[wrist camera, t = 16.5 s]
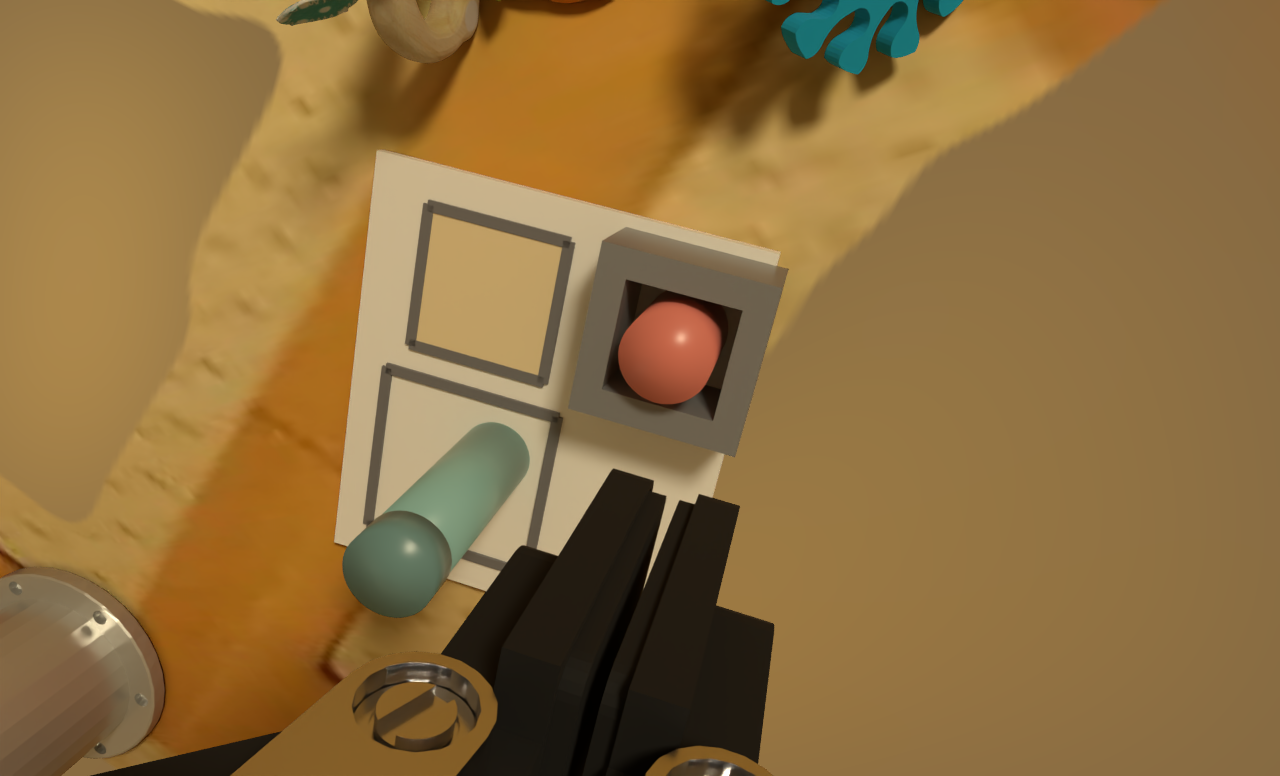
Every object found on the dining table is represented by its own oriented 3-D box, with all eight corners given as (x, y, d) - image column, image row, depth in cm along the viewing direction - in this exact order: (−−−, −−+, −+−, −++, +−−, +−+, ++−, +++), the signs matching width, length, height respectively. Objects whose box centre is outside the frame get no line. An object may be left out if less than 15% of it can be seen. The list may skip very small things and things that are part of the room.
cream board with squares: (340, 536, 46) (332, 543, 45) (383, 149, 39) (375, 150, 38) (671, 643, 43) (669, 652, 42) (780, 251, 36) (779, 254, 36)
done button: (637, 354, 38) (609, 389, 34) (655, 276, 37) (629, 300, 32) (716, 377, 38) (699, 415, 33) (737, 298, 37) (723, 326, 32)
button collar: (593, 379, 39) (567, 408, 35) (625, 226, 37) (601, 240, 33) (745, 422, 38) (734, 457, 35) (788, 268, 36) (782, 288, 32)
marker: (456, 479, 42) (339, 602, 32) (464, 413, 41) (345, 519, 31) (525, 497, 42) (429, 628, 32) (535, 431, 41) (439, 545, 30)
